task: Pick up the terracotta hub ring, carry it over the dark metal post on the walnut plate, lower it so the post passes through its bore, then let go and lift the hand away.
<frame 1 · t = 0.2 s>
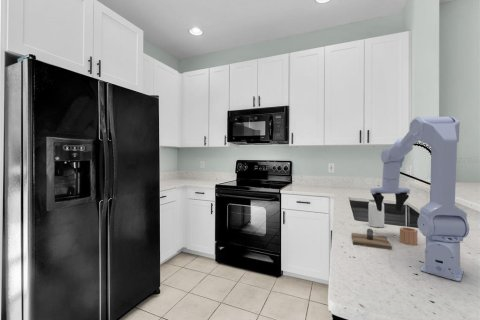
hand: (388, 210, 95), 10 cm above the worktop, tool pointing down, fingers open, 7 cm apart
hub: (408, 242, 86), on the worktop
can: (376, 226, 109), on the worktop
holder: (369, 241, 87), on the worktop
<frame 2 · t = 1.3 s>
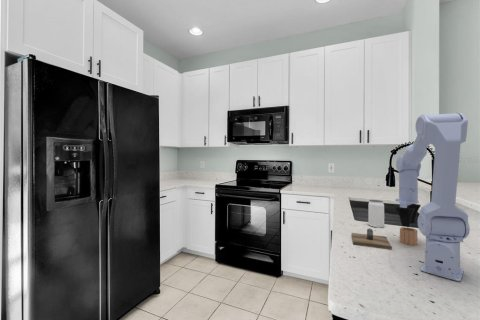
hand: (408, 224, 86), 7 cm above the worktop, tool pointing down, fingers open, 7 cm apart
nothing on the worktop moved.
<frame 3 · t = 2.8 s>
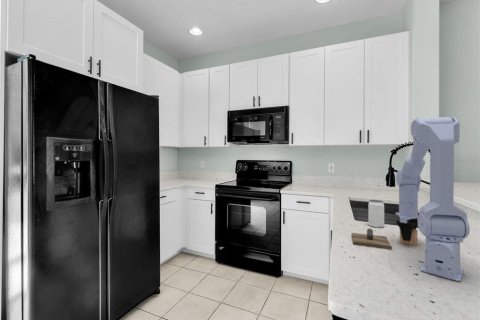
hand: (408, 238, 86), 1 cm above the worktop, tool pointing down, fingers closed on hub, 5 cm apart
hub: (408, 242, 86), on the worktop, touching gripper
everything else where it was.
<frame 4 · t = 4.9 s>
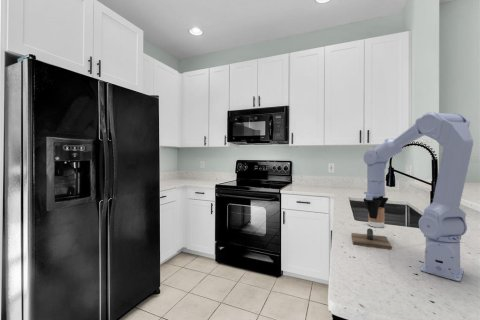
hand: (376, 217, 87), 9 cm above the worktop, tool pointing down, fingers closed on hub, 5 cm apart
hub: (376, 220, 87), point 8 cm above the worktop, touching gripper
everything else where it was.
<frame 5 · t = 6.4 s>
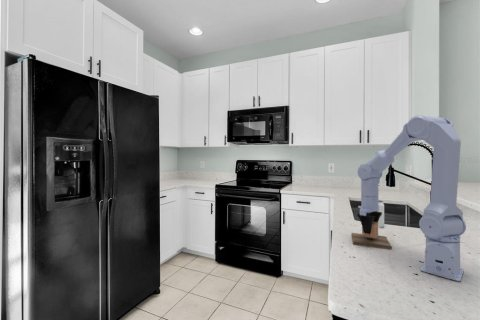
hand: (369, 231, 87), 4 cm above the worktop, tool pointing down, fingers closed on hub, 5 cm apart
hub: (370, 235, 87), point 2 cm above the worktop, touching gripper
everything else where it was.
when the fingers open (3 cm above the worktop, at t = 7.5 s): hub stays where it is, resting on holder.
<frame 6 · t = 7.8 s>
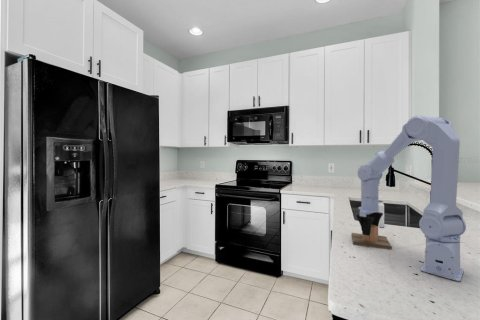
hand: (369, 232, 87), 3 cm above the worktop, tool pointing down, fingers open, 7 cm apart
hub: (370, 239, 87), point 1 cm above the worktop, touching holder
everything else where it was.
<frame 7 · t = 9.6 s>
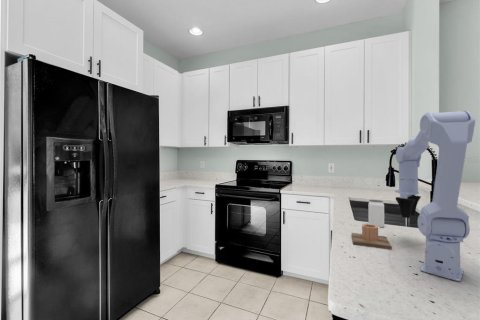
hand: (408, 215, 85), 10 cm above the worktop, tool pointing down, fingers open, 7 cm apart
nothing on the worktop moved.
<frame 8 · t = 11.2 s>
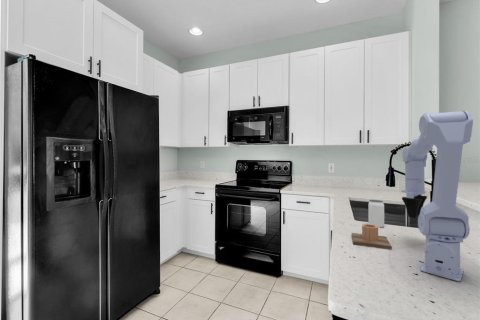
hand: (414, 215, 85), 10 cm above the worktop, tool pointing down, fingers open, 7 cm apart
nothing on the worktop moved.
at the end: hub 0.0 cm off-centre on the holder, point 1.0 cm above the holder's base; hub tilted 0°; the gripper is holding nothing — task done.
